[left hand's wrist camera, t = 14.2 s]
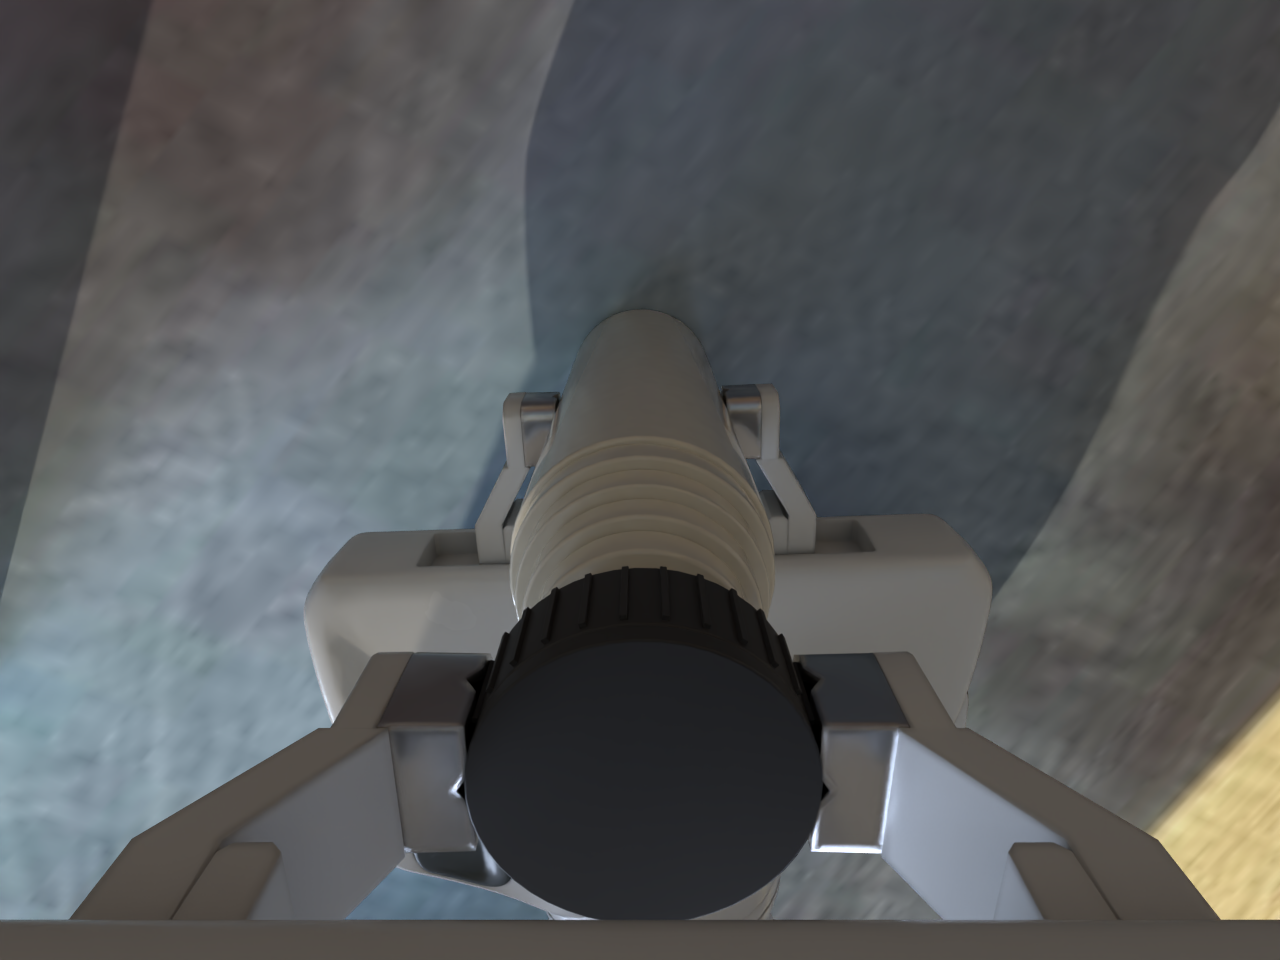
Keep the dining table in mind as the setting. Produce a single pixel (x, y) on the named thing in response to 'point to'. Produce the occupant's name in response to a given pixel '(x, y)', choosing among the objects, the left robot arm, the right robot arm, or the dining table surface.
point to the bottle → (641, 471)
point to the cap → (643, 749)
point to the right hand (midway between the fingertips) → (639, 392)
